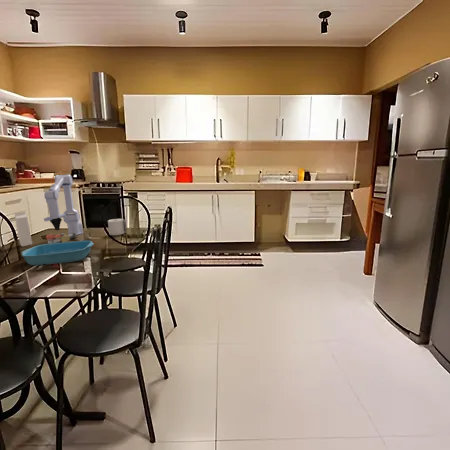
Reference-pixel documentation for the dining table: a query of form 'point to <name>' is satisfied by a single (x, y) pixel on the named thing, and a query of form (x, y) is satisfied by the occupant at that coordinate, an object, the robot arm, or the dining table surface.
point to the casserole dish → (57, 252)
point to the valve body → (62, 238)
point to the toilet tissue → (117, 226)
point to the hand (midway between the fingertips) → (57, 229)
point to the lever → (53, 236)
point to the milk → (23, 229)
